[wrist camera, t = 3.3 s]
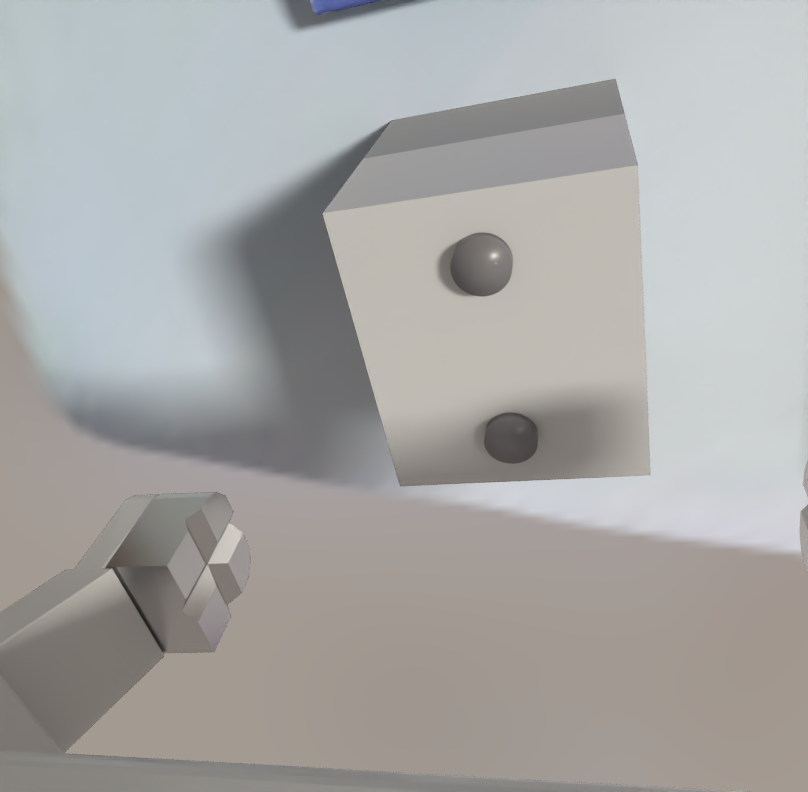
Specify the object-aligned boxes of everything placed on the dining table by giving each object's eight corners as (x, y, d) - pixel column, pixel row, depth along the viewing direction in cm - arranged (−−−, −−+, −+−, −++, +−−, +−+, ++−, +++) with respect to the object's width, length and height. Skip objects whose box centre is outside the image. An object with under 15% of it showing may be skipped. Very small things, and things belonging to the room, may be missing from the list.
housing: (391, 119, 17) (317, 220, 12) (615, 78, 15) (639, 171, 10) (439, 341, 20) (397, 495, 15) (628, 322, 19) (652, 485, 14)
